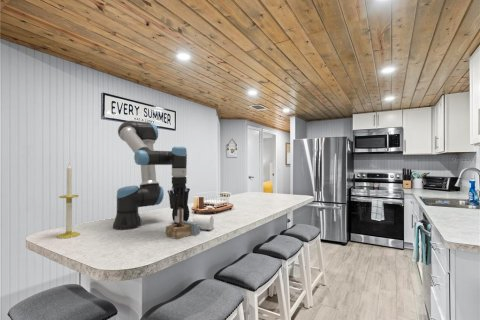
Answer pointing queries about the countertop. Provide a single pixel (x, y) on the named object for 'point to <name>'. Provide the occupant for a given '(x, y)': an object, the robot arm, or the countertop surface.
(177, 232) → the block
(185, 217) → the bottle
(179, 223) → the dowel
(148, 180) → the robot arm
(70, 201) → the candle
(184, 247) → the countertop surface
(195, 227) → the backstop wall
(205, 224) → the mug
